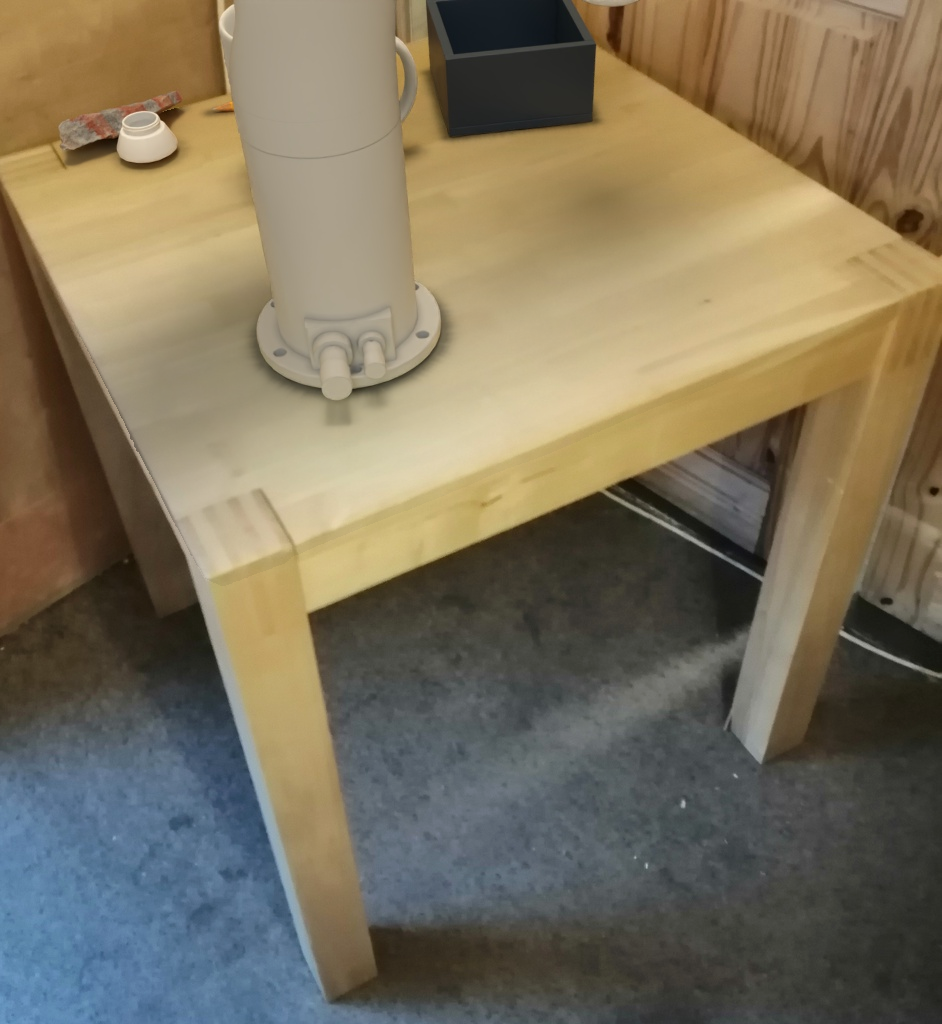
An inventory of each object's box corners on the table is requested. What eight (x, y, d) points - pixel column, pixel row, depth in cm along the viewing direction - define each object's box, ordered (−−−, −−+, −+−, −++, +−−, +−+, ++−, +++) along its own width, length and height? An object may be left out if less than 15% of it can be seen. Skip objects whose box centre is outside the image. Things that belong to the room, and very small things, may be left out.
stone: (165, 89, 98) (189, 84, 95) (174, 117, 99) (199, 113, 96) (39, 125, 92) (60, 121, 88) (50, 155, 93) (72, 152, 89)
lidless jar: (185, 158, 91) (170, 132, 94) (176, 125, 89) (162, 100, 92) (126, 172, 90) (114, 146, 93) (117, 139, 88) (104, 113, 91)
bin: (592, 121, 94) (596, 43, 89) (449, 137, 93) (445, 59, 88) (561, 59, 102) (563, -16, 97) (430, 73, 101) (425, -2, 96)
